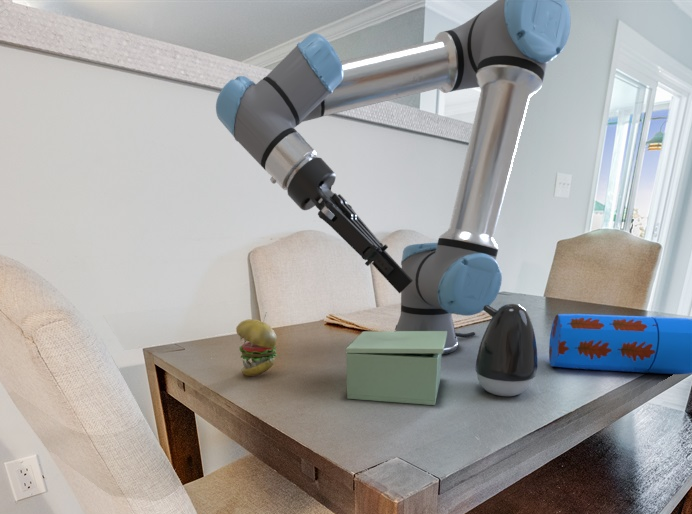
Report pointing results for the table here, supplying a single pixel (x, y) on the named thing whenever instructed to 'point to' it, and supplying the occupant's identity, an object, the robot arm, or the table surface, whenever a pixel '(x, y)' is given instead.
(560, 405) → the table surface
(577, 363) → the thermos
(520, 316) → the pump dispenser
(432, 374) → the keepsake box
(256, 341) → the hamburger
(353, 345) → the lid
